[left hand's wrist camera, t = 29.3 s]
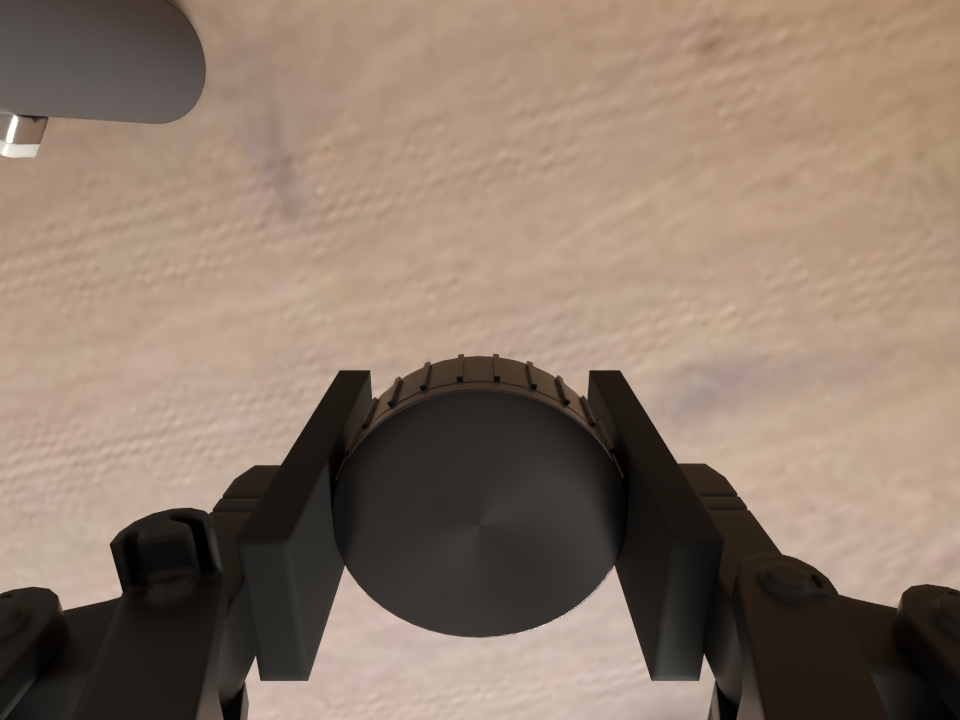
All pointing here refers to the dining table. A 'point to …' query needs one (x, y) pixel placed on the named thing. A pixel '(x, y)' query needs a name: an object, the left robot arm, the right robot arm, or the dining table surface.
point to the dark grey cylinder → (99, 60)
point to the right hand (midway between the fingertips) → (61, 46)
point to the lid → (479, 498)
